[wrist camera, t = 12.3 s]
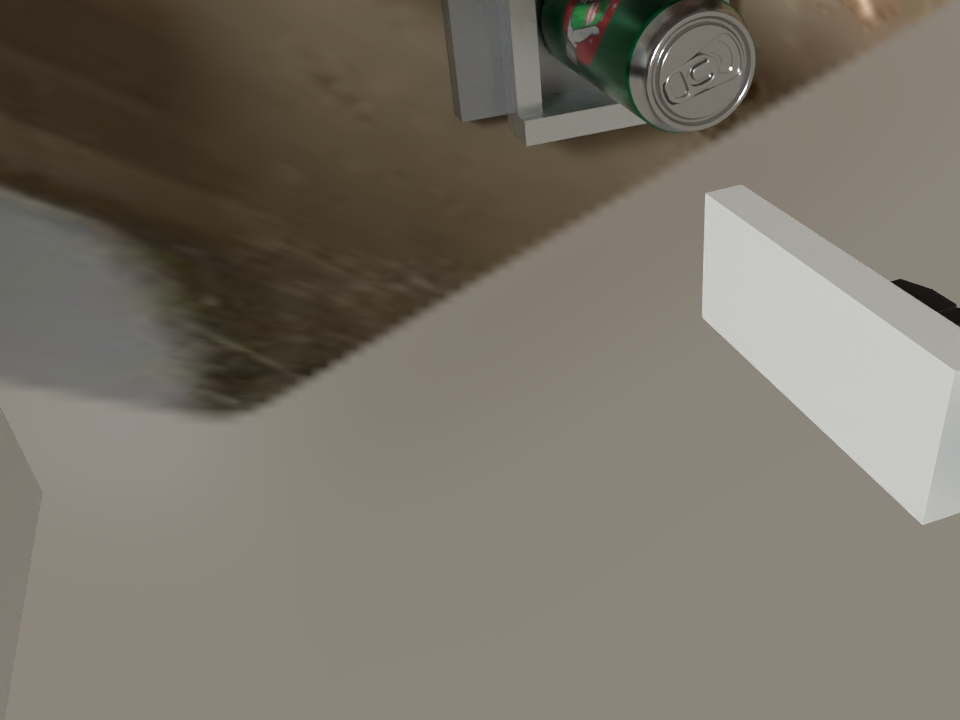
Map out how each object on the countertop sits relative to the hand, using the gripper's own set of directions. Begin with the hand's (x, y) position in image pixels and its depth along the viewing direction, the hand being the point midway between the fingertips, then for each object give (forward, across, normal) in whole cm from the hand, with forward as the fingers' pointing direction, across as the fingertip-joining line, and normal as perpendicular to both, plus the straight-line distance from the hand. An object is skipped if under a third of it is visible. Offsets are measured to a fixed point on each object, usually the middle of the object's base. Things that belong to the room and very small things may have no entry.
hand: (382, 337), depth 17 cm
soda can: (+28, +16, -2) cm, 32 cm away
